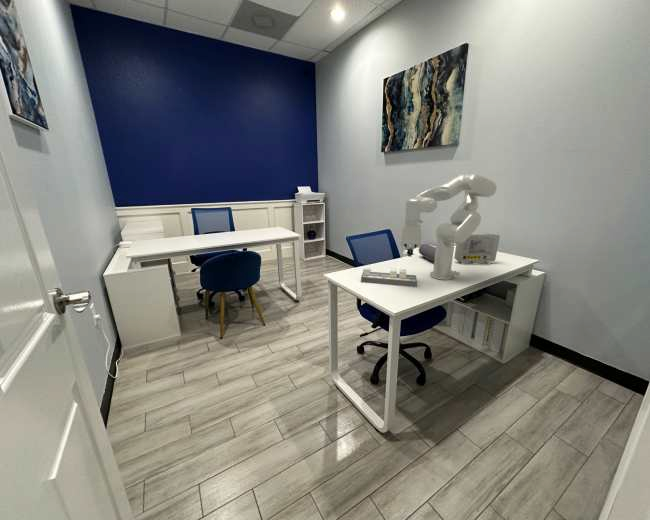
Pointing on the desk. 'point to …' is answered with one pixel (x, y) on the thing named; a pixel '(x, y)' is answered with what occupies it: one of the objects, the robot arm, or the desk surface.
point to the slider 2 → (402, 273)
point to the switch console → (389, 279)
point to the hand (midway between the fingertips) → (409, 255)
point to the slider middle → (393, 273)
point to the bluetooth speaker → (428, 252)
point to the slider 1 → (366, 270)
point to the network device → (477, 249)
